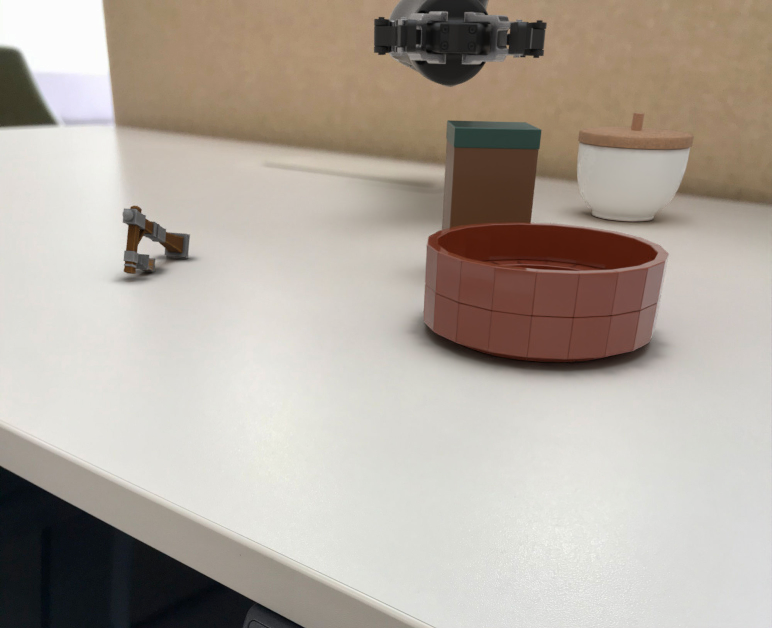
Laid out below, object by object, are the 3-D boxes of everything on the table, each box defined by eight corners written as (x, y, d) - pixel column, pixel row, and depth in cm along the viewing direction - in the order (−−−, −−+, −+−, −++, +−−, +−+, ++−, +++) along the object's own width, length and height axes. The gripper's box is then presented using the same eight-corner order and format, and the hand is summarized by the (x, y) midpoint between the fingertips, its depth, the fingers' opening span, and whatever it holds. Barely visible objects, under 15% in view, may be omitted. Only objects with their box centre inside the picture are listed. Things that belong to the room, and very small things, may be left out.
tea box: (439, 266, 62) (446, 120, 57) (512, 267, 62) (526, 122, 57) (445, 284, 57) (454, 127, 52) (525, 286, 57) (541, 129, 52)
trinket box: (612, 229, 76) (630, 117, 72) (548, 209, 85) (559, 109, 80) (701, 222, 80) (722, 116, 76) (630, 204, 89) (646, 108, 84)
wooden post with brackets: (108, 268, 55) (113, 199, 55) (163, 290, 63) (168, 229, 62) (133, 270, 55) (138, 201, 54) (185, 292, 63) (190, 231, 62)
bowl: (502, 290, 56) (509, 214, 54) (687, 331, 49) (706, 245, 46) (377, 332, 47) (379, 243, 45) (580, 389, 40) (596, 287, 38)
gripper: (372, -10, 75) (375, -23, 61) (525, -6, 76) (564, -19, 62) (371, 82, 79) (374, 89, 65) (517, 85, 80) (552, 93, 65)
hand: (467, 36), depth 63 cm, fingers open, 8 cm apart
